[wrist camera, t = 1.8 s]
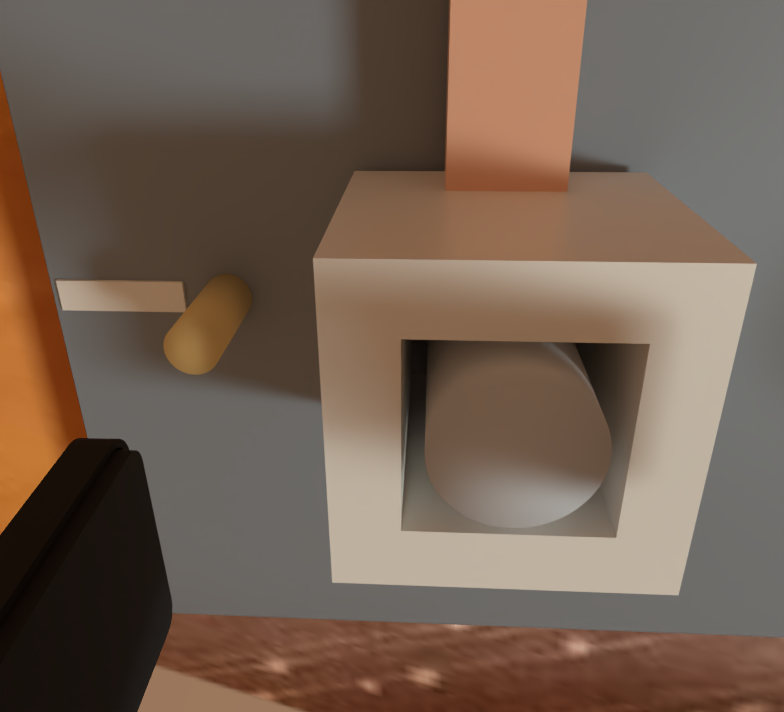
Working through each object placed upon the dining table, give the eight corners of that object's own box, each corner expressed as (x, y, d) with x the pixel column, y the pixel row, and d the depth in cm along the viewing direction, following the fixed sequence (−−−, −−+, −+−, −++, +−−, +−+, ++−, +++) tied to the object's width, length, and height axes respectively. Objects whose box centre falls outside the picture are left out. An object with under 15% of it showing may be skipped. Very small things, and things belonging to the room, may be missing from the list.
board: (800, 590, 23) (977, 877, 16) (150, 567, 25) (22, 823, 17) (1090, -262, 14) (1936, -599, 6) (-18, -233, 15) (-507, -485, 7)
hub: (607, 421, 18) (678, 595, 13) (362, 415, 19) (332, 582, 13) (685, -85, 13) (853, -143, 8) (347, -81, 14) (289, -133, 8)
